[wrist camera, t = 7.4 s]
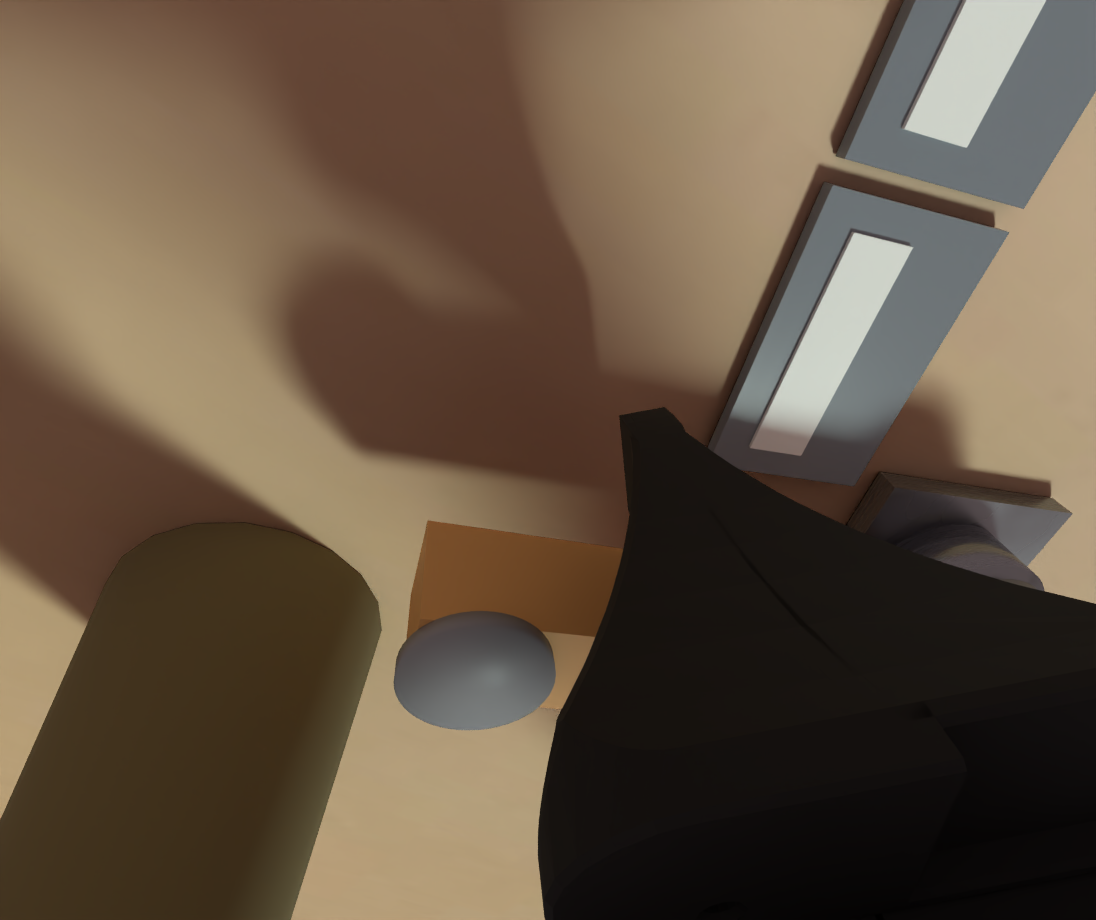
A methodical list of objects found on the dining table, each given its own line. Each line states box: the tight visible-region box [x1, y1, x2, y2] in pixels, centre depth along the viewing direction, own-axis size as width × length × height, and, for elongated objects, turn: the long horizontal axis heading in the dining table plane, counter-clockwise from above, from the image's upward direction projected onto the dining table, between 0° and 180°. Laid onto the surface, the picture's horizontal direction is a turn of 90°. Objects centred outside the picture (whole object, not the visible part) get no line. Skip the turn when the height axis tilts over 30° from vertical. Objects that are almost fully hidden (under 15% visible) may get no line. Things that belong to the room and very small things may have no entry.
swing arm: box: [394, 521, 1036, 730], centre depth 12 cm, size 14×3×2 cm, turn 74°
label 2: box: [707, 182, 1009, 486], centre depth 12 cm, size 6×4×1 cm, turn 167°
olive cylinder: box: [0, 523, 382, 920], centre depth 10 cm, size 6×6×11 cm
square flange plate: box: [846, 472, 1072, 591], centre depth 15 cm, size 5×5×2 cm
